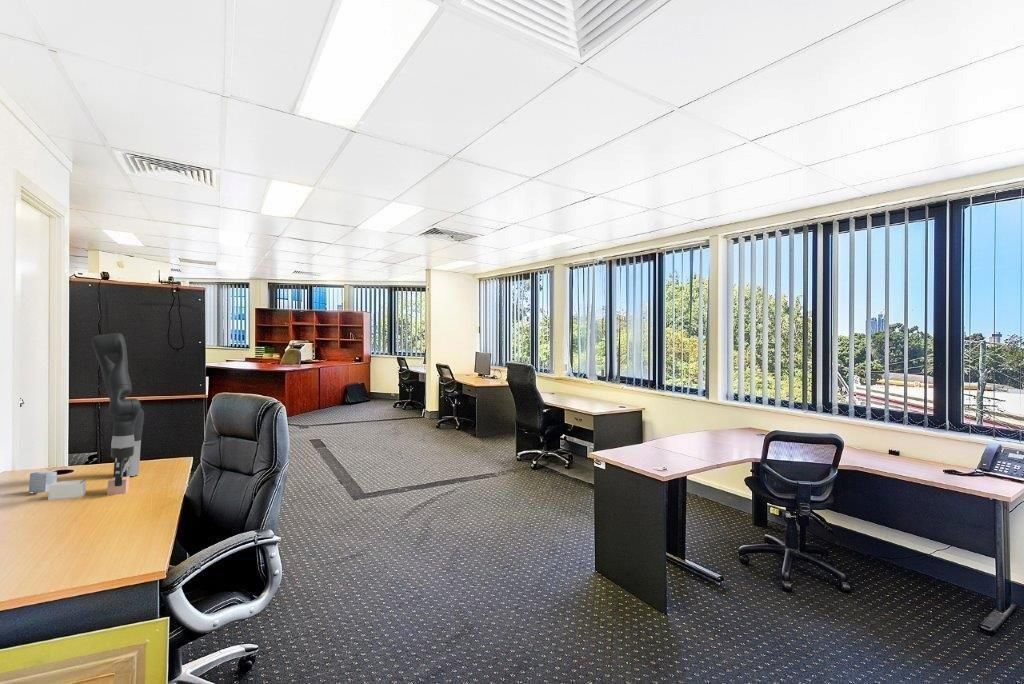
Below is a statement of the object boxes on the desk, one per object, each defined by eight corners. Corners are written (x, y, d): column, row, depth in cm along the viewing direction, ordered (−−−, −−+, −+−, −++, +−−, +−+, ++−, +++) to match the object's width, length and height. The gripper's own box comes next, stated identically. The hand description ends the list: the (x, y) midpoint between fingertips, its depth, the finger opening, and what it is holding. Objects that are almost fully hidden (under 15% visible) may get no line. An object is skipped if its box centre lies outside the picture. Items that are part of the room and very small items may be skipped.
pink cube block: (110, 491, 196) (111, 477, 196) (128, 489, 199) (129, 476, 199) (107, 494, 191) (108, 480, 192) (125, 493, 194) (126, 479, 195)
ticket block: (53, 496, 187) (54, 481, 187) (85, 494, 192) (86, 479, 192) (48, 500, 183) (49, 484, 183) (81, 497, 187) (82, 482, 188)
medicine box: (56, 491, 197) (57, 471, 197) (44, 494, 192) (46, 474, 192) (40, 490, 197) (41, 470, 198) (28, 493, 193) (29, 473, 193)
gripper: (115, 442, 201) (113, 479, 200) (106, 449, 188) (104, 489, 188) (137, 441, 204) (135, 478, 204) (130, 448, 192) (127, 486, 191)
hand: (120, 483), depth 196 cm, fingers open, 8 cm apart
